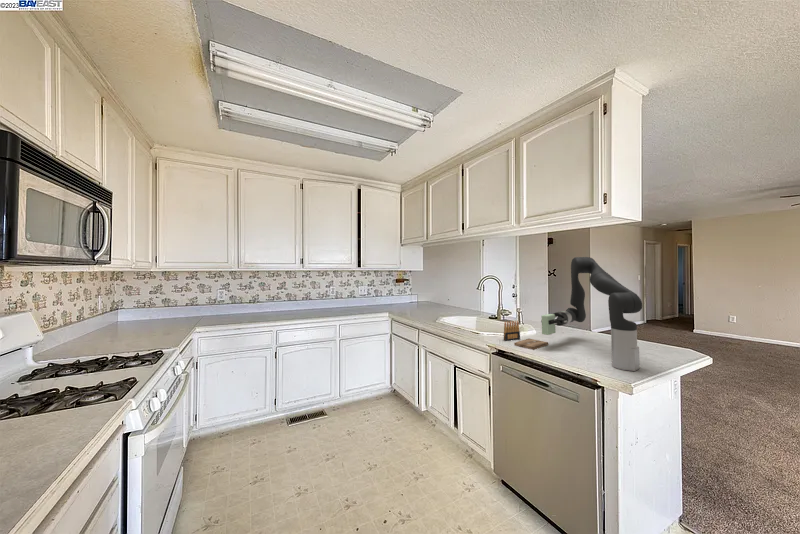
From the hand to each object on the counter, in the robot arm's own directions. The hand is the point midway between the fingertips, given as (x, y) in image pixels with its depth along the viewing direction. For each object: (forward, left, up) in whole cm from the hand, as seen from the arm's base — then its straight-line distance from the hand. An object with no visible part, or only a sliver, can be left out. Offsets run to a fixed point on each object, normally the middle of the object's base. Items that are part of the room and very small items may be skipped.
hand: (545, 322), depth 159 cm
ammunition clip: (+25, -6, -16) cm, 30 cm away
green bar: (0, -3, -7) cm, 7 cm away
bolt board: (+11, -4, -15) cm, 19 cm away
